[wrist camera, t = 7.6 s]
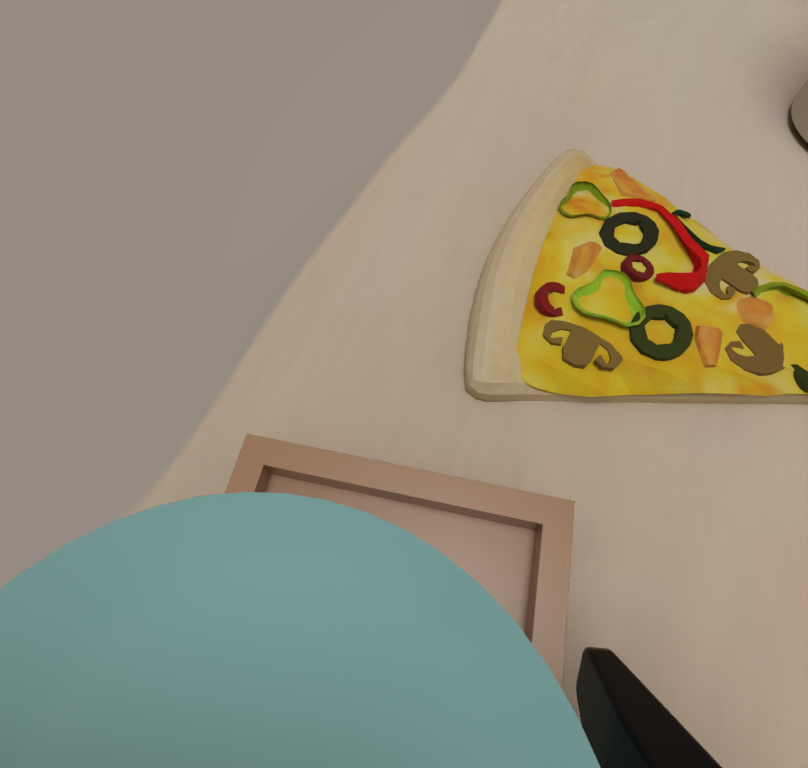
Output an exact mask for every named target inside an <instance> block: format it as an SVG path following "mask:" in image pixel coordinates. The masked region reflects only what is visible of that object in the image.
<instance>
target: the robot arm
mask: <svg viewBox="0 0 808 768" xmlns="http://www.w3.org/2000/svg"><path fill="white" fill-rule="evenodd" d="M576 692H577V700H578V706H579V711H580V717H581V722H582V727H583V730H584V732H585V734H586V736H587V739H588V741H589V743H590V745H591V747H592V750H593V752H594V754H595V756H596V759H597V761H598V763H599V765H600V767H601V768H722V767H721V766H720V765H719V764H718V763H717V762H716V761H715V760H714V759H713V757H712V756H711V755H710V754H709V753H708V752H707V751H706V750H705V749H704V748H703V747H702V746H701V745H700V744H699V743H698V742H697V741H696V739H695V738H694V737H693V736H692V735H691V734H690V733H689V732H688V731H687V730H686V729H685V728H684V727H683V726H682V725H681V724H680V723H679V721H678V720H677V719H676V718H675V717H674V716H673V715H672V714H671V713H670V712H669V711H668V710H667V709H666V708H665V707H664V706H663V705H662V703H661V702H660V701H659V700H658V699H657V698H656V697H655V696H654V695H653V694H652V693H651V692H650V691H649V690H648V689H647V688H646V686H645V685H644V684H643V683H642V682H641V681H640V680H639V679H638V678H637V677H636V676H635V675H634V674H633V673H632V672H631V671H630V670H629V668H628V667H627V666H626V665H625V664H624V663H623V662H622V661H621V660H620V659H619V658H618V657H617V656H616V655H615V654H614V653H613V652H612V651H611V650H609V649H606V648H595V647H587V648H585V650H584V651H583V654H582V659H581V664H580V669H579V673H578V678H577V685H576Z"/></svg>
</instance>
